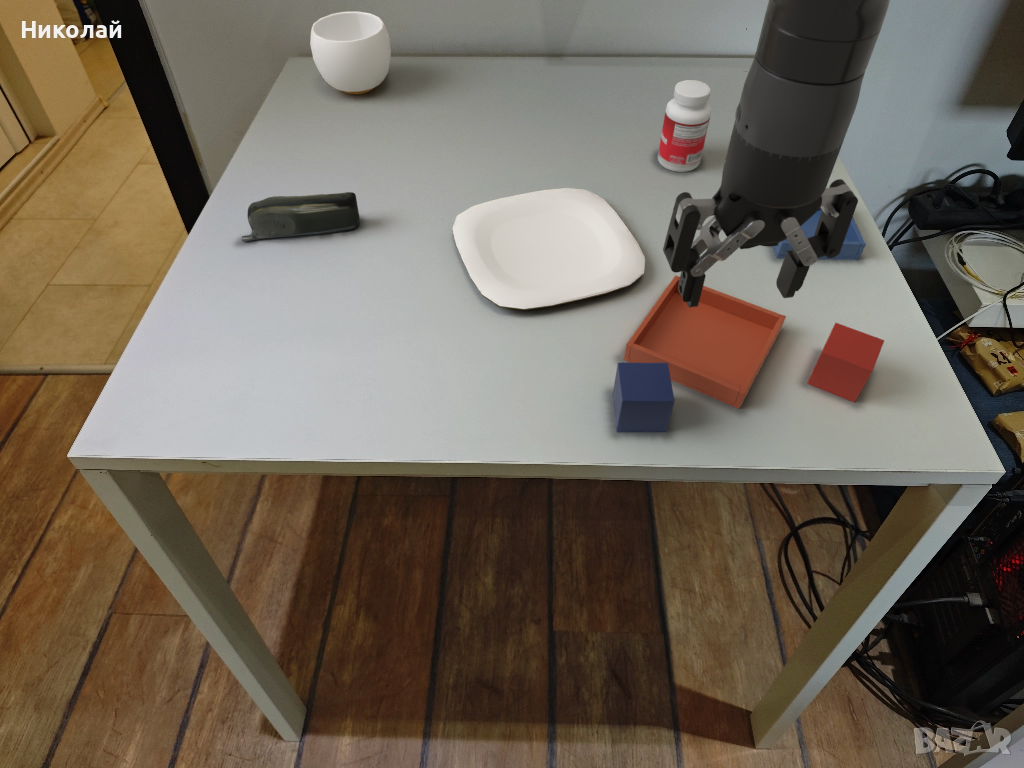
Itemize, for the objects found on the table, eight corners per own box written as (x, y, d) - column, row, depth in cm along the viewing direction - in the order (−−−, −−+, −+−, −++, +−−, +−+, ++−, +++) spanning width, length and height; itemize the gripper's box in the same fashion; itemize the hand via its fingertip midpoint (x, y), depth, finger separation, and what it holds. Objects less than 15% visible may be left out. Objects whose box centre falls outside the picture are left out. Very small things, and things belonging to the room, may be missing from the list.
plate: (592, 189, 100) (593, 178, 99) (662, 288, 86) (664, 277, 85) (441, 219, 95) (440, 208, 94) (489, 329, 82) (489, 318, 81)
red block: (866, 372, 78) (884, 340, 74) (854, 403, 75) (872, 371, 71) (820, 354, 79) (835, 322, 76) (806, 384, 77) (822, 351, 73)
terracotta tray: (779, 332, 82) (786, 316, 80) (739, 409, 74) (745, 393, 72) (671, 291, 86) (675, 275, 84) (623, 360, 79) (626, 344, 77)
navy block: (660, 394, 76) (667, 362, 72) (666, 433, 72) (674, 401, 68) (612, 394, 76) (617, 362, 72) (616, 432, 72) (622, 400, 69)
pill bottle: (661, 146, 107) (674, 74, 99) (703, 154, 106) (719, 81, 97) (653, 169, 103) (665, 95, 95) (696, 177, 102) (712, 102, 93)
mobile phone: (354, 186, 92) (232, 199, 90) (356, 199, 90) (232, 213, 88) (359, 218, 96) (242, 231, 93) (361, 232, 94) (242, 246, 91)
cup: (309, 102, 116) (296, 41, 108) (332, 66, 124) (321, 7, 116) (384, 107, 114) (376, 46, 107) (402, 71, 122) (396, 11, 115)
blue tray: (837, 211, 97) (843, 195, 95) (858, 260, 90) (866, 244, 88) (760, 210, 97) (765, 194, 95) (776, 258, 90) (782, 242, 88)
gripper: (708, 161, 48) (669, 334, 60) (912, 144, 49) (833, 317, 61) (676, 105, 52) (646, 276, 65) (862, 91, 54) (798, 261, 66)
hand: (737, 296), depth 63 cm, fingers open, 8 cm apart
